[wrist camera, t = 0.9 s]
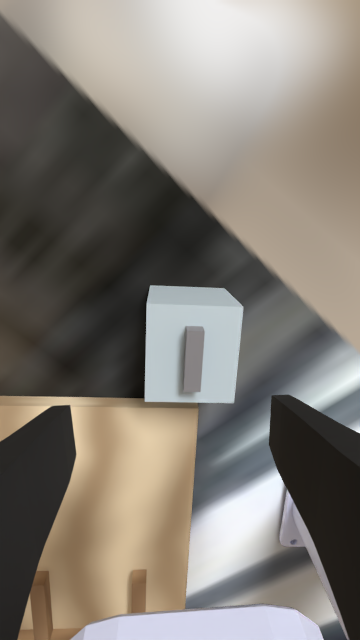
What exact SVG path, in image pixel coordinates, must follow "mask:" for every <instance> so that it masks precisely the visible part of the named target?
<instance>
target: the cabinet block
mask: <svg viewBox="0 0 360 640" xmlns="http://www.w3.org/2000/svg"><path fill="white" fill-rule="evenodd" d="M242 316H243V306H242V305H241V304H240V303H239V302H238V301H237V300H236V299H235V298H234V297H233V296H232V295H231V294H230V293H229V292H228V291H227V290H225V289H224V288H202V287H176V286H150V289H149V294H148V299H147V309H146V359H145V402H197V403H234V397H235V387H236V376H237V366H238V356H239V346H240V336H241V326H242Z"/></svg>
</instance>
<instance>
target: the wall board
mask: <svg viewBox="0 0 360 640" xmlns="http://www.w3.org/2000/svg"><path fill="white" fill-rule="evenodd" d="M57 405H70V407H71V415H72V423H73V431H74V439H75V447H76V459H75V463H74V468H73V472H72V475H71V479H70V483H69V485H68V488H67V491H66V493H65V496H64V498H63V501H62V503H61V506H60V508H59V511H58V513H57V516H56V518H55V521H54V524H53V526H52V529H51V531H50V534H49V536H48V539H47V541H46V544H45V546H44V549H43V552H42V555H41V558H40V560H39V564H38V567H37V571H36V574H35V578H34V581H33V584H32V588H31V591H30V595H29V598H28V602H27V606H26V609H25V613H24V617H23V620H22V624H21V628H20V632H19V635H18V639H17V640H70V639H71V638H73V637H74V636H75V635H76V634H77V633H78V632H79V631H81V630H82V629H83V628H84V627H85V626H86V625H88V624H89V623H91V622H93V621H97V620H101V619H104V618H108V617H112V616H116V615H119V614H129V613H143V612H157V611H170V610H184V609H185V599H186V585H187V570H188V556H189V541H190V526H191V512H192V497H193V482H194V468H195V453H196V438H197V424H198V409H199V408H198V403H197V402H145V398H93V397H31V396H0V441H2V440H3V439H5V438H6V437H8V436H10V435H11V434H12V433H14V432H15V431H17V430H18V429H20V428H21V427H22V426H24V425H25V424H27V423H28V422H29V421H31V420H32V419H34V418H35V417H36V416H38V415H39V414H41V413H42V412H44V411H45V410H47V409H48V408H50V407H51V406H57Z"/></svg>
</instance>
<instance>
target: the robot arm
mask: <svg viewBox="0 0 360 640" xmlns="http://www.w3.org/2000/svg"><path fill="white" fill-rule="evenodd" d="M269 446H270V449H271V452H272V455H273V458H274V461H275V464H276V467H277V469H278V472H279V474H280V476H281V478H282V480H283V482H284V484H285V486H286V488H287V493H286V499H285V505H284V511H283V518H282V524H281V530H280V537H279V540H280V543H281V545H282V546H285V547H306V548H307V551H308V553H309V555H310V557H311V560H312V562H313V564H314V566H315V568H316V571H317V573H318V575H319V577H320V580H321V582H322V584H323V586H324V588H325V591H326V593H327V595H328V597H329V600H330V602H331V604H332V606H333V608H334V611H335V613H336V615H337V617H338V620H339V622H340V624H341V626H342V628H343V631H344V633H345V635H346V637H347V640H360V433H358V432H356V431H354V430H352V429H350V428H348V427H346V426H344V425H342V424H340V423H338V422H336V421H335V420H333V419H331V418H329V417H328V416H326V415H324V414H322V413H321V412H319V411H317V410H315V409H314V408H312V407H310V406H309V405H307V404H305V403H303V402H302V401H300V400H298V399H296V398H294V397H292V396H290V395H272V400H271V418H270V436H269ZM75 459H76V447H75V439H74V431H73V423H72V415H71V407H70V405H57V406H51V407H50V408H48V409H47V410H45V411H44V412H42V413H41V414H39V415H38V416H36V417H35V418H34V419H32V420H31V421H29V422H28V423H27V424H25V425H24V426H22V427H21V428H20V429H18V430H17V431H15V432H14V433H12V434H11V435H10V436H8V437H6V438H5V439H3V440H2V441H0V640H17V639H18V635H19V632H20V628H21V624H22V620H23V617H24V613H25V609H26V606H27V602H28V598H29V595H30V591H31V588H32V584H33V581H34V578H35V574H36V571H37V567H38V564H39V560H40V558H41V555H42V552H43V549H44V546H45V544H46V541H47V539H48V536H49V534H50V531H51V529H52V526H53V524H54V521H55V518H56V516H57V513H58V511H59V508H60V506H61V503H62V501H63V498H64V496H65V493H66V491H67V488H68V485H69V483H70V479H71V475H72V472H73V468H74V463H75ZM70 640H324V639H323V637H322V634H321V632H320V629H319V627H318V625H317V624H315V623H314V622H313V621H311V620H310V619H308V618H307V617H306V616H304V615H303V614H301V613H300V612H299V611H297V610H295V609H293V608H291V607H285V606H277V605H269V604H252V605H238V606H225V607H211V608H197V609H184V610H170V611H157V612H143V613H129V614H119V615H116V616H112V617H108V618H104V619H101V620H97V621H93V622H91V623H89V624H88V625H86V626H85V627H84V628H83V629H82V630H81V631H79V632H78V633H77V634H76V635H75V636H74V637H73V638H71V639H70Z"/></svg>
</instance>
